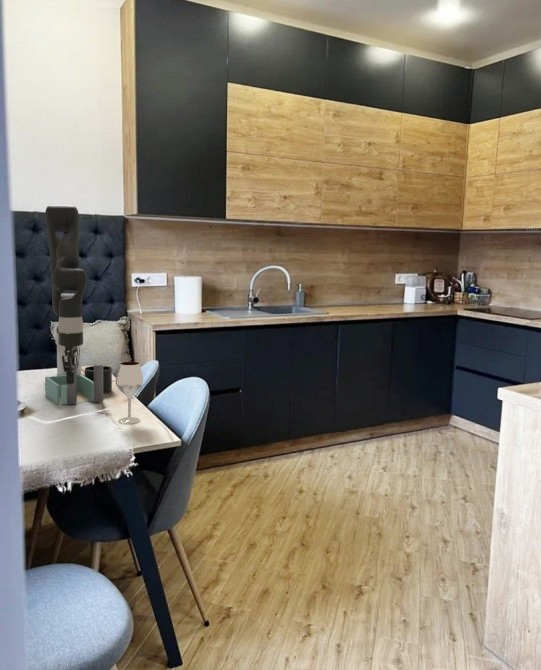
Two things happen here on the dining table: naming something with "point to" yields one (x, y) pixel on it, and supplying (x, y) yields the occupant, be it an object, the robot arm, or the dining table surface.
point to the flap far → (97, 384)
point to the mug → (106, 377)
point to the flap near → (69, 391)
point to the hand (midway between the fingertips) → (71, 382)
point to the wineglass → (129, 385)
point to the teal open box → (55, 381)
